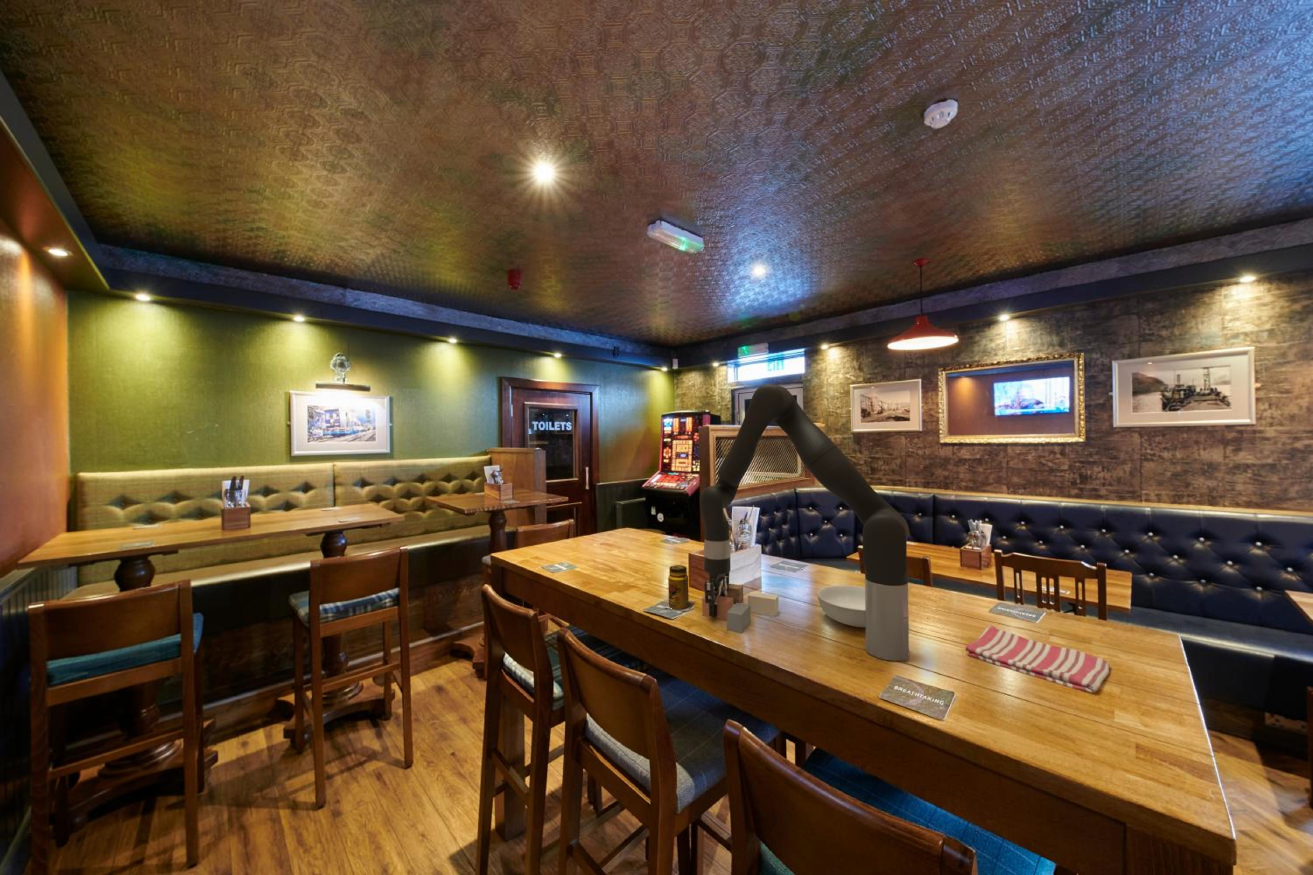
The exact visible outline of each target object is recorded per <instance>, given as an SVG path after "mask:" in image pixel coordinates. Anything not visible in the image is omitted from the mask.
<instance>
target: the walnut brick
mask: <svg viewBox="0 0 1313 875" xmlns="http://www.w3.org/2000/svg"><path fill="white" fill-rule="evenodd" d="M714 592H716V591H714ZM726 597H729V598H733V606H734V605H735V604H736V603H742V604H743V603H744V585H741V584H734V583H729V592H727V596H726Z"/></svg>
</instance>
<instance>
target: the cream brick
mask: <svg viewBox="0 0 1313 875" xmlns="http://www.w3.org/2000/svg"><path fill="white" fill-rule="evenodd" d="M779 598H780V596H779V595H777V594H773V593H766V592H759V591H750V593H748V595H747V604H748V605H751V614H756V615H762V616H763V615H764V616H770V617H774V618H775V617H777V615H778V614H779V612H780V610H779V608H780V607H779V605H780V603H779V602H780V601H779Z"/></svg>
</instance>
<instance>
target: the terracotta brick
mask: <svg viewBox="0 0 1313 875" xmlns="http://www.w3.org/2000/svg"><path fill="white" fill-rule="evenodd" d="M711 599H712V597H711ZM701 600H702V601H701V603H702V604H701V608H702V609H701V611H702V612H701V613H702V614H701V615H702V616H707V617H710V616H709V603H705V595H704V596H703V597H702V598H701ZM733 606H734V604H733V598H729V597H723V596H719V597H718V601H717V617H716V618H715V619H720V620H726V621H727V612H728V611H729V610H730V609H731V608H732V607H733Z"/></svg>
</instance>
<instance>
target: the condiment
mask: <svg viewBox="0 0 1313 875" xmlns="http://www.w3.org/2000/svg"><path fill="white" fill-rule="evenodd" d="M687 570H688V568H687V566H685V565H681V564H676V565H671V566H670V567H669V573H668V578H667V581H668V589H667V590H668V604H669V607H670V608H672V609H674V610H673V611H679V612H680V611H684V612H688V611H689V610H690V609H691V608H692V606H693V605H694V604H695V602H696V601H695V600H692V601H691V600H689V576H688V571H687ZM668 604H667V605H666V606H668Z"/></svg>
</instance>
